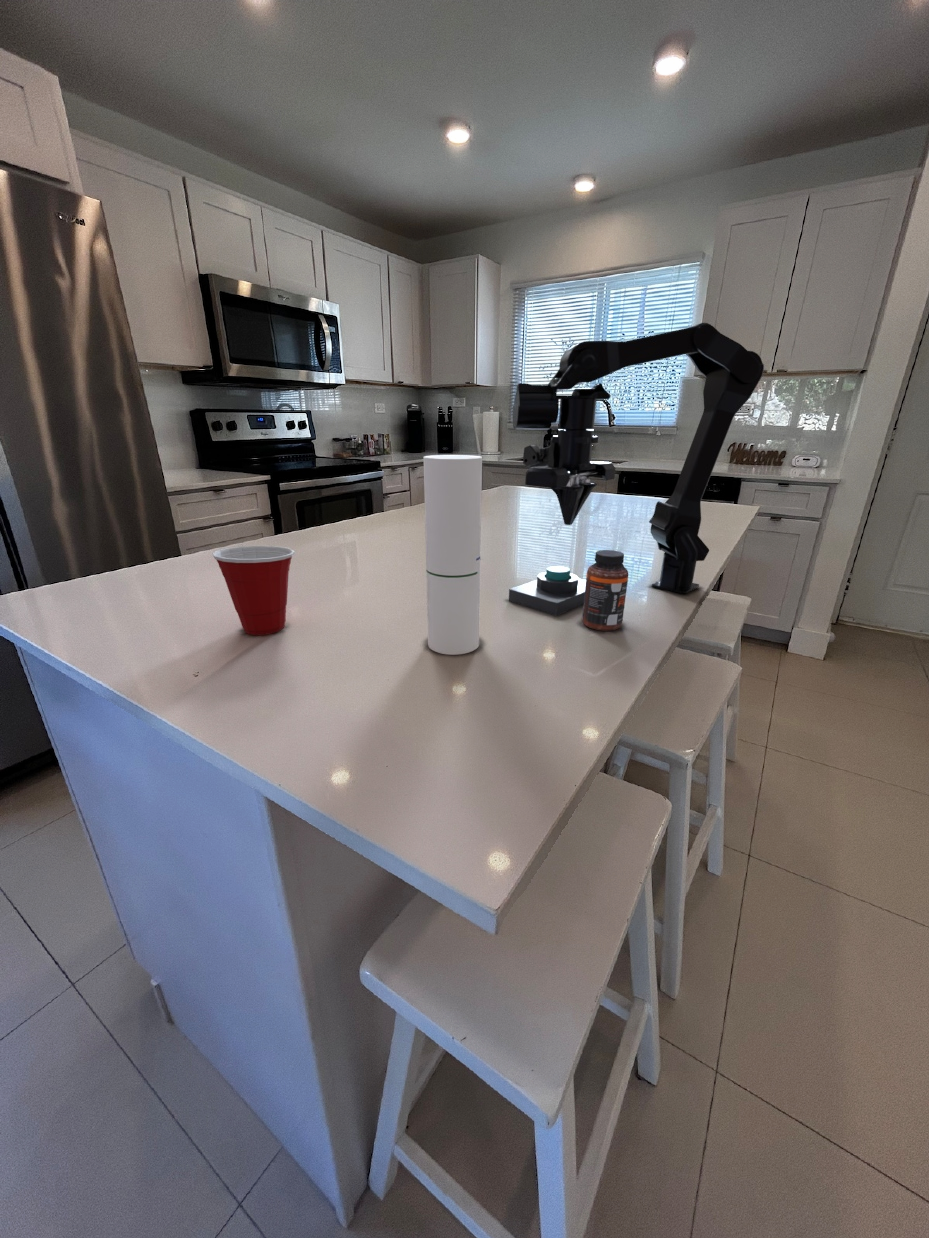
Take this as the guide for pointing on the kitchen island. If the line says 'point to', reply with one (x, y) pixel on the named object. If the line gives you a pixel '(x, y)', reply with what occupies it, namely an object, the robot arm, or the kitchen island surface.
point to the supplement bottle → (605, 591)
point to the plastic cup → (257, 585)
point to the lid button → (558, 573)
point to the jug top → (550, 594)
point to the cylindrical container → (453, 551)
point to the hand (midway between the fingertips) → (568, 524)
